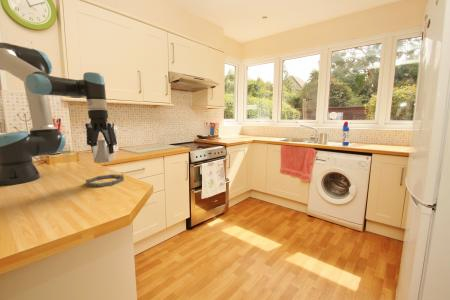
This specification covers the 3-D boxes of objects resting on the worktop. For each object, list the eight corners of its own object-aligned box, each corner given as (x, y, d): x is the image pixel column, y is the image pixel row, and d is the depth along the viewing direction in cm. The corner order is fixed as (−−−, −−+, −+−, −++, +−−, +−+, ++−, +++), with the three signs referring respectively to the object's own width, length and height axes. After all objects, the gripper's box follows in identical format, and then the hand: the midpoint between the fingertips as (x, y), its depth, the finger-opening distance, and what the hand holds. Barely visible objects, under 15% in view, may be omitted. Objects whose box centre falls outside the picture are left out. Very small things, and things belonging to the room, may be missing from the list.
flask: (104, 163, 93) (102, 140, 91) (90, 163, 94) (87, 141, 93) (116, 160, 100) (113, 139, 98) (103, 160, 101) (100, 139, 100)
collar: (78, 185, 93) (77, 180, 93) (105, 176, 108) (105, 171, 107) (105, 187, 89) (105, 182, 89) (130, 177, 104) (130, 173, 103)
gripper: (72, 110, 93) (79, 161, 96) (109, 108, 87) (115, 162, 91) (87, 110, 100) (93, 158, 103) (122, 109, 94) (127, 159, 98)
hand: (103, 160), depth 97 cm, fingers closed on flask, 7 cm apart
